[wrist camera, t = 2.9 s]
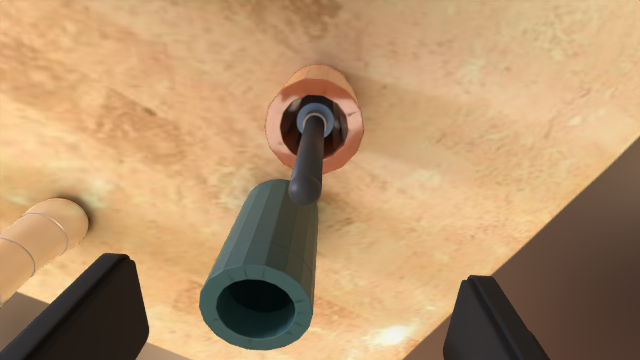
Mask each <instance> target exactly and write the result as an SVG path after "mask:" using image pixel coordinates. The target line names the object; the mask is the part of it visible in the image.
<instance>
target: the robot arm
mask: <svg viewBox="0 0 640 360" xmlns="http://www.w3.org/2000/svg"><path fill="white" fill-rule="evenodd" d="M148 335H149V325H148V320H147V316H146V311H145V306H144V302H143V297H142V293H141V288H140V283H139V279H138V274H137V270H136V265H135V262H134V261H133V260H130V258H129V256H128V255H126V254H114V253H105V254H102V255H101V256H100V257H99V258H98V259H97V260H96V261H95V262H94V263H93V264H92V265H90V266H89V267H88V268H87V269H86V270H85V271H84V272H83V273H82V274H81V275H80V276H79V277H78V278H77V279H76V280H75V281H74V282H73V283H72V284H71V285H70V286H69V287H68V288H67V289H66V290H64V291H63V292H62V293H61V294H60V295H59V296H58V297H57V298H56V299H55V300H54V301H53V302H52V303H51V304H50V305H49V306H48V307H47V308H46V309H45V310H44V311H43V312H42V313H41V314H40V315H39V316H38V317H36V318H35V319H34V320H33V321H32V322H31V323H30V324H29V325H28V326H27V327H26V328H25V329H24V330H23V331H22V332H21V333H20V334H19V335H18V336H17V337H16V338H15V339H14V340H13V341H12V342H11V343H9V344H8V345H7V346H6V347H5V348H4V349H3V350H2V351H1V352H0V360H135V359H136V358H137V356H138V354H139V353H140V351H141V349H142V348H143V346H144V344H145V343H146V341H147V338H148ZM443 356H444V360H550V359H549V357H548V356H547V354H546V353H545V352H544V350H543V348H542V347H541V345H540V344H539V342H538V341H537V339H536V338H535V336H534V335H533V334H532V333H531V332H530V331H529V330H528V329H527V327H526V326H525V324H524V323H523V321H522V320H521V318H520V317H519V315H518V314H517V312H516V311H515V309H514V308H513V306H512V305H511V303H510V302H509V300H508V299H507V297H506V295H505V294H504V292H503V291H502V290H501V288H500V286H499V285H498V283H497V282H496V280H495V279H494V278H493V277H491V276H478V275H470V276H469V277H468V279H467V280H463V281H462V282H461V285H460V289H459V292H458V296H457V299H456V303H455V307H454V310H453V314H452V317H451V321H450V325H449V328H448V332H447V336H446V339H445V343H444V347H443Z"/></svg>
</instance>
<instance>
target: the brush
mask: <svg viewBox="0 0 640 360" xmlns="http://www.w3.org/2000/svg"><path fill="white" fill-rule="evenodd" d="M296 121H297V127H298V129H299V131H300V132H301V134H302V137H301V141H300V145H299V149H298V153H297V157H296V160H295V164H294V168H293V172H292V176H291V180H290V184H289V195H290V198H291V199H292V201H293V202H294V203H296V204H298V205H300V206H310V205H313V204H314V203H315V202H317V200H318V199H319V198H320V195H321V191H322V170H323V149H324V137H326V136H327V135H329V134H330V132H331V131H332V129H333V126H334V107H333V101H332V100H330V99H328V98H326V97H325V96H318V95H307V96H304V99H303V102H302V104H301V107H300V110H299V112H298V115H297V120H296Z"/></svg>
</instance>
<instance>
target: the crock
mask: <svg viewBox="0 0 640 360" xmlns="http://www.w3.org/2000/svg"><path fill="white" fill-rule="evenodd" d="M307 95H318V96H325V97H326V98H328V99H330V100H332V101H333V107H334V126H333V129H332V131H331V132H330V134H329V135H327V136H326V137H324V149H323V170H322V174H325V173H328V172H331V171H333V170H336V169H338V168H341V167H343V166H344V165H345V164H346V163H347V162H348V161H349V160H350V159H351V158H352V157H353V156H354V155H355V154H356V152H357V151H358V148H359V145H360V142H361V139H362V136H363V133H364V128H363V120H362V112H361V109H360V106H359V104H358V101H357V99H356V96H355V94H354V91H353V89H352V87H351V85H350V84H349V82H348V81H347V79H346V78H345V76H344V75H343V74H342V73H340V72H339V71H337V70H336V69H334V68H331V67H329V66H325V65H310V66H308V67H305V68H303V69H301V70H299V71H297V72H295V73H294V75H293V76H292V77H291V78H290V80H289V81H288V82H287V83H286V85H285V86H284V87H283V88H282V90H281V91H280V92H279V93H278V95H277V96H276V97H275V98H274V100H273V101H272V102H271V103H270V105H269V107H268V112H267V117H266V121H265V131H266V135H267V139H268V143H269V147H270V149H271V150H272V151H273V152H274V153H275V155H276V156H277V157H278V158H279V160H280V161H281V162H282V163H283V164H284V165H286V166H288V167H290V168H292V169H293V168H294V164H295V160H296V157H297V153H298V149H299V145H300V141H301V137H302V134H301V132H300V131H299V129H298V127H297V121H296V120H297V115H298V112H299V110H300V107H301V104H302V102H303V99H304V96H307Z"/></svg>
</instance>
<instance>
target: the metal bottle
mask: <svg viewBox="0 0 640 360" xmlns="http://www.w3.org/2000/svg"><path fill="white" fill-rule="evenodd" d="M87 231H88V218H87V215H86V213H85V211H84V210H83V209H82V208H81V207H80V206H79V205H78V204H76V203H75V202H73V201H71V200H68V199H62V198H50V199H47V200H44V201H42V202H39V203H37V204H35V205H33V206H32V207H31V208H30V209H28V210H27V211H26V212H25V213H24V214H23V215H22V216H21V217H20V218H19V219H18V220H17V221H15V222H14V223H13V224H11V225H10V226H9V227H7V228H6V229H5V230H3V231H2V232H1V233H0V308H1V307H2V306H3V305H4V304H5V302H6V301H7V300H8V299H9V298H10V297H11V296H12V295H13V294H14V293H15V292H16V290H17V289H18V288H20V287H21V286H22V285H23V284H24V283H25V282H26V281H27V280H28V279H29V278H30V277H31V276H33V275H34V274H35V273H36V272H37V271H38V270H40V269H41V268H42V267H44V266H45V265H47V264H48V263H49V262H51V261H52V260H54V259H55V258H56V257H58V256H60V255H62V254H64V253H65V252H67V251H69V250H70V249H72V248H74V247H75V246H76V245H78V244H79V243H80V241H81V240H82V239H83V238H84V236H85V235H86V233H87Z"/></svg>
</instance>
